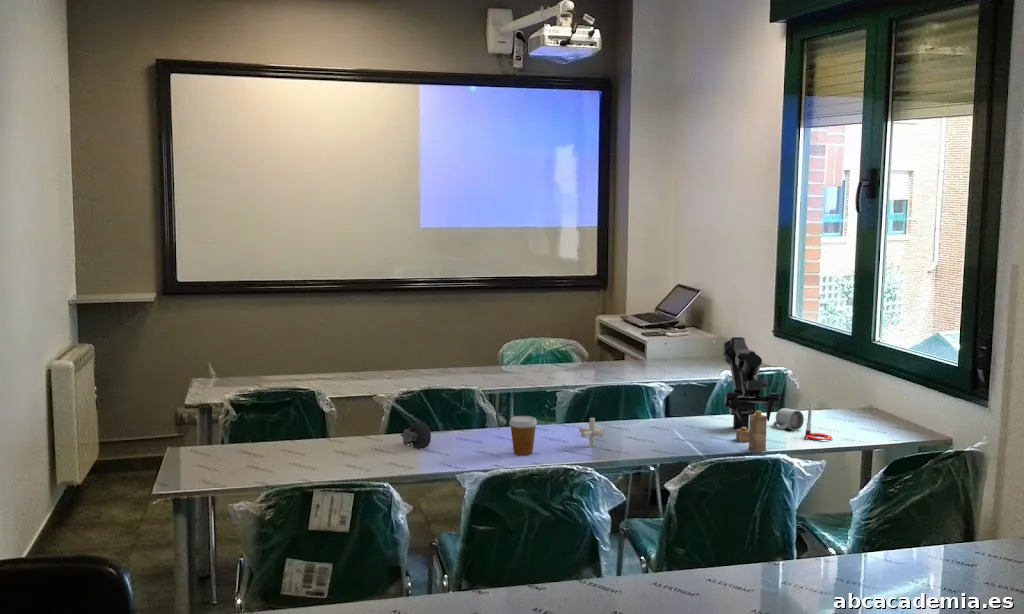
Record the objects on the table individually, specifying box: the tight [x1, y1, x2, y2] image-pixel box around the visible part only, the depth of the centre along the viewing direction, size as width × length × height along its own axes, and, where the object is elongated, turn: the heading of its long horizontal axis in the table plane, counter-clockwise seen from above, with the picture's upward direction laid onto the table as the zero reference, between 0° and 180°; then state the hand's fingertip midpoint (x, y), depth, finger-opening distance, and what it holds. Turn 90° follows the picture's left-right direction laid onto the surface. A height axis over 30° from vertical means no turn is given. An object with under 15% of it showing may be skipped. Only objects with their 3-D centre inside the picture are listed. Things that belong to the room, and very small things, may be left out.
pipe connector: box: [579, 417, 606, 447], centre depth 310 cm, size 10×10×10 cm
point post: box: [748, 410, 768, 453], centre depth 302 cm, size 4×4×14 cm
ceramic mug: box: [772, 408, 805, 431], centre depth 334 cm, size 11×8×8 cm
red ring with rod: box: [804, 402, 833, 441], centre depth 320 cm, size 8×13×9 cm
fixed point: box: [735, 427, 749, 443], centre depth 315 cm, size 4×4×4 cm
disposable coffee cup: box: [508, 415, 538, 456], centre depth 301 cm, size 10×10×12 cm
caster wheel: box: [400, 421, 432, 449], centre depth 310 cm, size 6×10×15 cm
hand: (754, 420), depth 307 cm, fingers open, 9 cm apart
